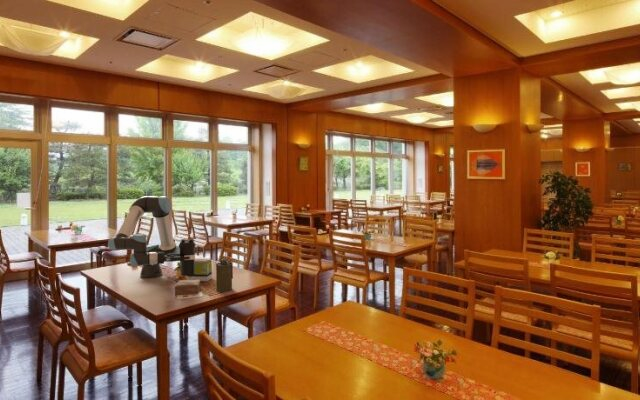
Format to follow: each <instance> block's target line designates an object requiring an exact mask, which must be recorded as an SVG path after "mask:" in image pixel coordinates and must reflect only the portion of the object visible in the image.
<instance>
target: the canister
mask: <svg viewBox="0 0 640 400" xmlns="http://www.w3.org/2000/svg"><path fill="white" fill-rule="evenodd" d="M215 267H216V270H215V271H216V272H215V273H216V275H215V276H216V278H215V279H216V281H215V282H216V292H218V293H226V292H227V293H228V292H230V291H232V290H233V279H234V276H233V274H234V272H233V270H234V269H233V268H234V267H233V262H232V261H228V260H227V259H224V258H223V259H219V262H216V263H215Z"/></svg>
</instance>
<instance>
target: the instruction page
mask: <svg viewBox="0 0 640 400" xmlns="http://www.w3.org/2000/svg"><path fill="white" fill-rule="evenodd" d="M202 297H203V292H202V291H199V293H198V294H194V295H177V296H176V299H177V300H181V299H191V298H193V299H194V298H202Z"/></svg>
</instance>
